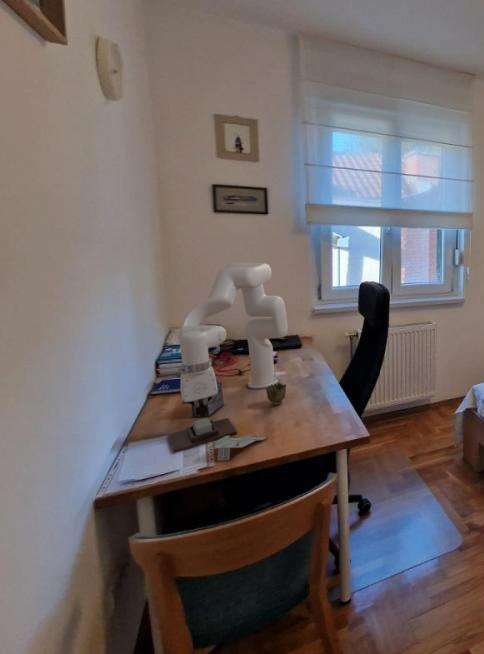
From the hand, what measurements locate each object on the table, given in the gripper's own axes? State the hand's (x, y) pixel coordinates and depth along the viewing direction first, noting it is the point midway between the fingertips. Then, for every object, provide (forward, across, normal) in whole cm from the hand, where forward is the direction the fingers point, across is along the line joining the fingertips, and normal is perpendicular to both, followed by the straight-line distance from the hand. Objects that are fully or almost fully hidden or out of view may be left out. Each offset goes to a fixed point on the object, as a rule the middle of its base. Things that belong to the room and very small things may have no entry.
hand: (202, 415), depth 147 cm
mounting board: (+7, 0, -1) cm, 7 cm away
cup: (+8, +26, +8) cm, 29 cm away
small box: (+8, +4, +20) cm, 22 cm away
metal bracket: (+7, +6, -19) cm, 21 cm away
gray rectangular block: (+6, 0, 0) cm, 6 cm away
